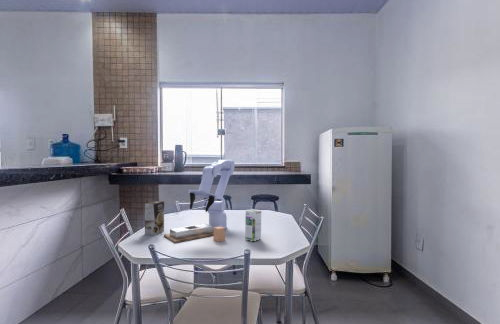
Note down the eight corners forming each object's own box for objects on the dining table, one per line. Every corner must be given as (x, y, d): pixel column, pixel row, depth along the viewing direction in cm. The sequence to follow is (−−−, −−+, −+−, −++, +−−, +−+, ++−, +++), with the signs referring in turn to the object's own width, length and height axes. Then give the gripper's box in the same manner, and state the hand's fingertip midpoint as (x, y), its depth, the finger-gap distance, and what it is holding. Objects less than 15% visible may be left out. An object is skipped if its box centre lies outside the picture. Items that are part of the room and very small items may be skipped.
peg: (220, 238, 137) (220, 226, 137) (224, 240, 134) (225, 227, 134) (213, 239, 135) (213, 227, 135) (217, 241, 132) (217, 229, 132)
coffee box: (155, 235, 142) (155, 203, 142) (144, 234, 143) (144, 203, 143) (164, 230, 151) (164, 201, 151) (153, 230, 152) (153, 200, 152)
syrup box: (244, 240, 134) (244, 210, 134) (252, 237, 139) (252, 208, 139) (253, 242, 131) (253, 211, 130) (261, 239, 135) (261, 209, 135)
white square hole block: (205, 229, 151) (205, 223, 151) (212, 231, 145) (212, 226, 145) (170, 235, 139) (170, 229, 139) (176, 238, 133) (176, 232, 133)
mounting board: (205, 229, 155) (205, 227, 155) (219, 234, 144) (219, 232, 144) (163, 236, 140) (163, 234, 140) (175, 243, 129) (175, 240, 129)
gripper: (191, 179, 140) (182, 202, 132) (219, 184, 139) (212, 208, 131) (192, 186, 145) (184, 209, 137) (219, 191, 145) (213, 215, 137)
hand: (198, 209), depth 135 cm, fingers open, 7 cm apart
